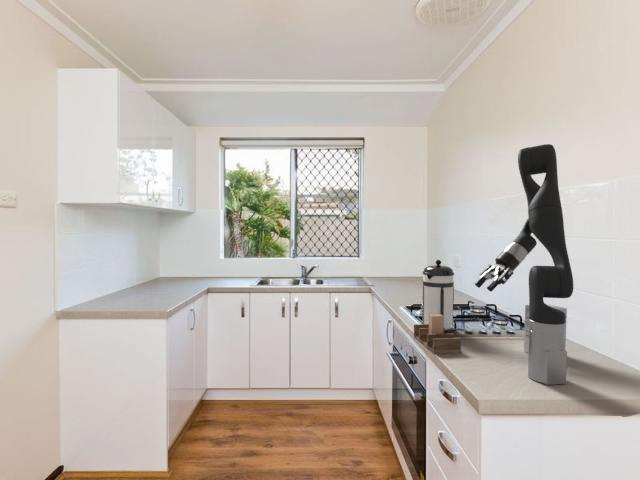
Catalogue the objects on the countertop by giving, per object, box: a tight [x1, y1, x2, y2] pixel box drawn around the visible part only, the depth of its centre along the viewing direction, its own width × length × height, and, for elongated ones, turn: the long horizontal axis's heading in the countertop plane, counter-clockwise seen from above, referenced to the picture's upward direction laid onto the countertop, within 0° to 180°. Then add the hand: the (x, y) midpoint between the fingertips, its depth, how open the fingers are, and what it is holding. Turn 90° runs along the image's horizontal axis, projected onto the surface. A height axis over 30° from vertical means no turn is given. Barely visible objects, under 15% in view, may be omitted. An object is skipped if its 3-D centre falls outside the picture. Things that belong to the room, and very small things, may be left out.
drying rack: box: [413, 323, 462, 354], centre depth 150 cm, size 20×10×5 cm, turn 6°
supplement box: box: [523, 303, 568, 354], centre depth 138 cm, size 10×9×17 cm
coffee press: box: [421, 259, 456, 331], centre depth 169 cm, size 17×16×30 cm
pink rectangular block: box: [429, 314, 444, 334], centre depth 149 cm, size 3×4×10 cm, turn 97°
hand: (482, 287), depth 149 cm, fingers open, 8 cm apart
